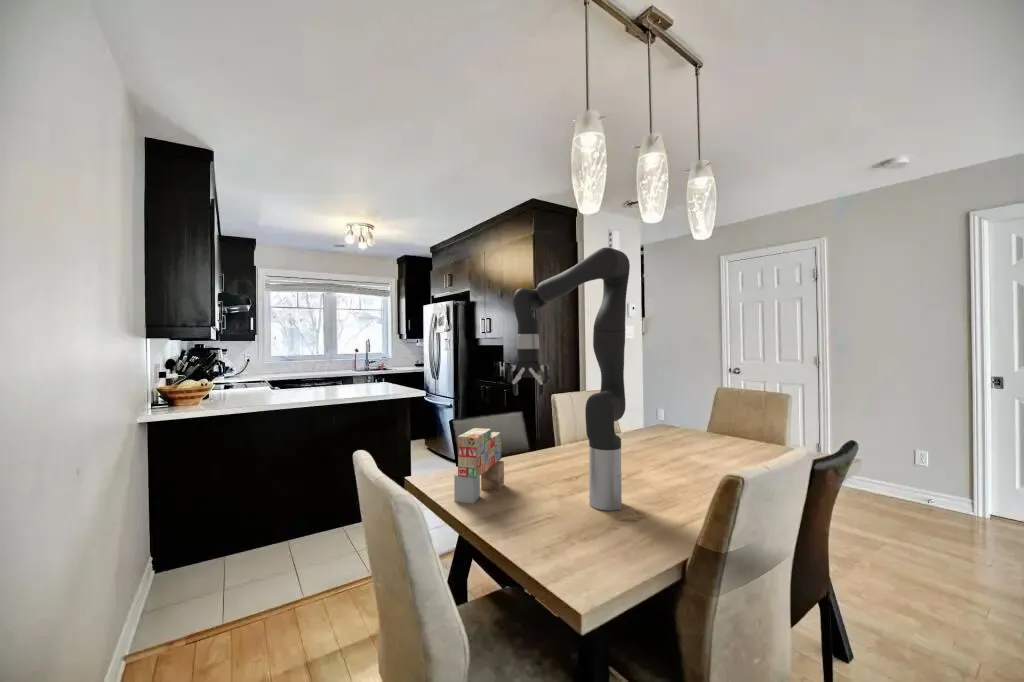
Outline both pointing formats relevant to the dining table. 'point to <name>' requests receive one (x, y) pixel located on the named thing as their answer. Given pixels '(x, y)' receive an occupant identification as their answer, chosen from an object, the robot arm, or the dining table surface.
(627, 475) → the dining table surface
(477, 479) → the grey rectangular block
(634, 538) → the dining table surface
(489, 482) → the brown wooden block
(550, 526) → the dining table surface
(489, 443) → the stack of blocks
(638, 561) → the dining table surface
